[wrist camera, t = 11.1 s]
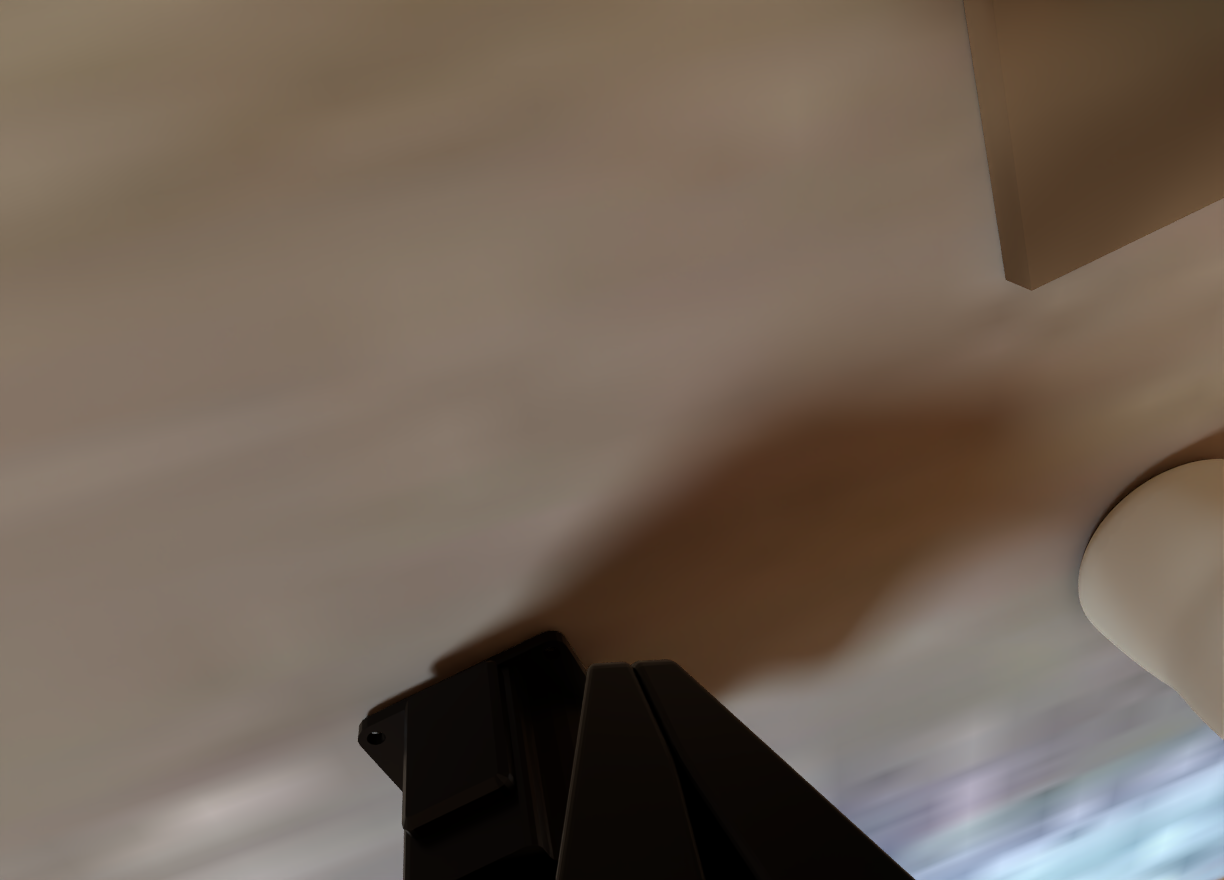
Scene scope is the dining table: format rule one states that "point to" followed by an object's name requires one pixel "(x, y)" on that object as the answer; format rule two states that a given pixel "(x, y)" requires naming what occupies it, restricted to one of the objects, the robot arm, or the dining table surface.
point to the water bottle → (1165, 582)
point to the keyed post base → (1096, 122)
